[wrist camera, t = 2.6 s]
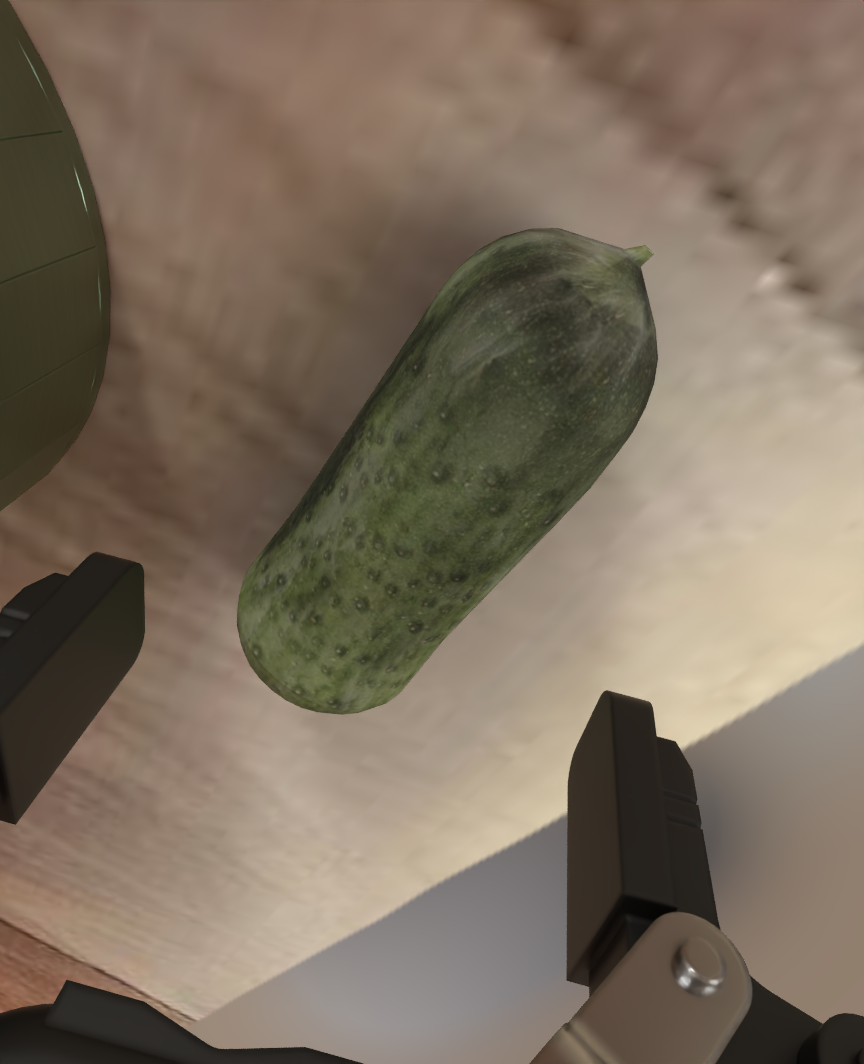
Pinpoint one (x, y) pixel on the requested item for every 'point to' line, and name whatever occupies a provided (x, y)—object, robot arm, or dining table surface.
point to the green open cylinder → (44, 271)
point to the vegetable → (453, 467)
